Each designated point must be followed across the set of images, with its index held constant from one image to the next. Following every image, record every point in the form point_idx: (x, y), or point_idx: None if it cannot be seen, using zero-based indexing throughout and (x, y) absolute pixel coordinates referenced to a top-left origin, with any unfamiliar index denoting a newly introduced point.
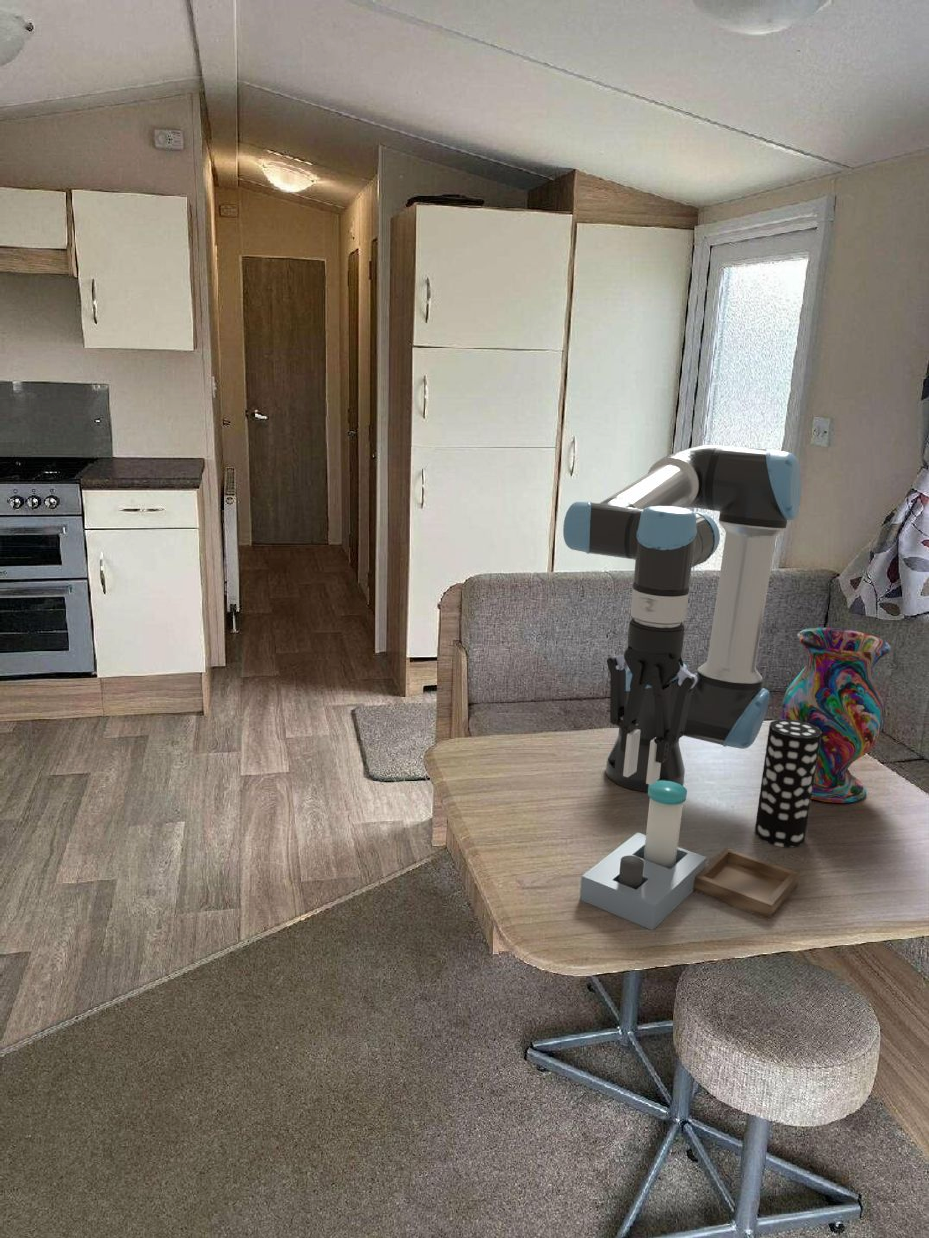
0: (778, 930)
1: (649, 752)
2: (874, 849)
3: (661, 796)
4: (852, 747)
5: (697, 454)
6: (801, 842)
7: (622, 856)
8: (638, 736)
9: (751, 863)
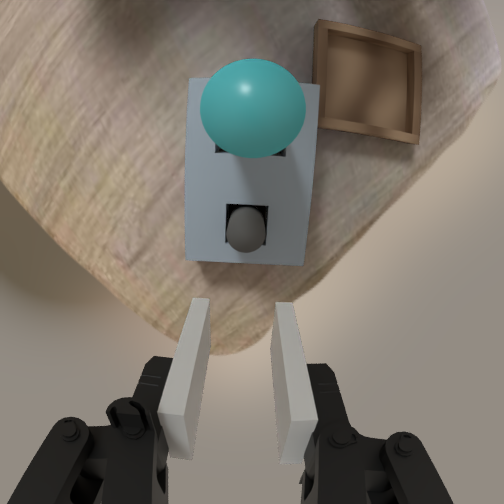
0: (420, 160)
1: (277, 425)
2: None
3: (256, 157)
4: None
5: None
6: None
7: (204, 169)
8: (189, 405)
9: (361, 37)
